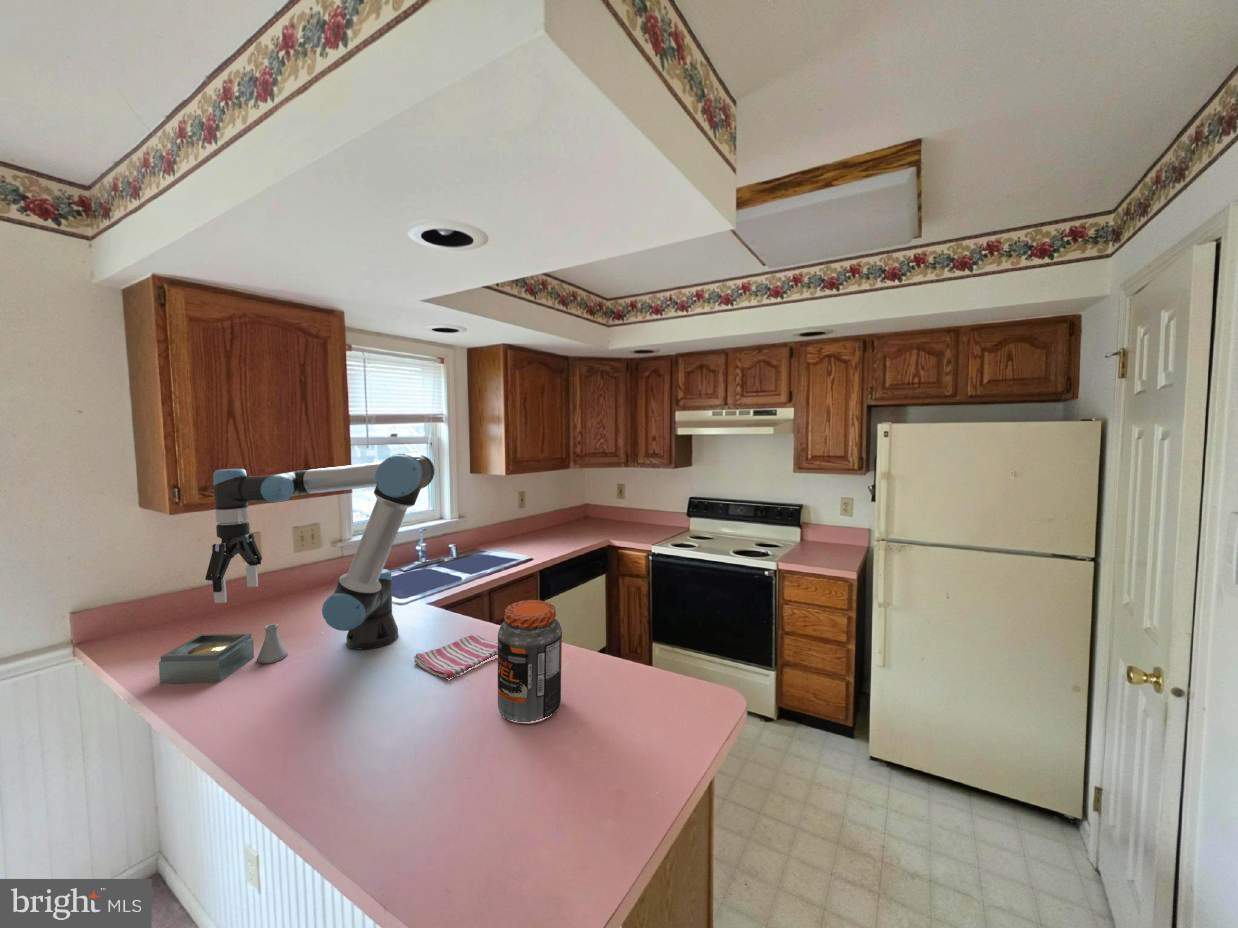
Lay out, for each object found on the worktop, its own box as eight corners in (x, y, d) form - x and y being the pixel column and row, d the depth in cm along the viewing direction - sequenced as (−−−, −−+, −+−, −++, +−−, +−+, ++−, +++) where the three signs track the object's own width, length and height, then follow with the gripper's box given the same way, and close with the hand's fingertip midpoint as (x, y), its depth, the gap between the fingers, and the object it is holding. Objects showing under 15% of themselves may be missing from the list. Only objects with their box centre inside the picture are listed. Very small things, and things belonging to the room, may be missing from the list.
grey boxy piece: (253, 657, 145) (253, 633, 145) (219, 682, 131) (218, 655, 131) (200, 658, 144) (198, 634, 143) (159, 683, 130) (158, 656, 130)
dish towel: (411, 665, 144) (411, 654, 144) (476, 638, 163) (476, 628, 163) (446, 684, 134) (446, 672, 134) (511, 653, 153) (511, 642, 153)
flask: (271, 665, 141) (270, 632, 140) (251, 662, 143) (249, 629, 142) (293, 654, 148) (292, 622, 147) (273, 651, 150) (272, 619, 149)
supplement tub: (486, 705, 124) (486, 605, 122) (540, 685, 134) (541, 592, 132) (516, 736, 111) (517, 626, 110) (573, 711, 122) (575, 610, 120)
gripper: (247, 514, 153) (251, 581, 155) (184, 531, 128) (190, 610, 130) (273, 514, 154) (276, 580, 155) (215, 531, 129) (220, 609, 131)
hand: (237, 594), depth 143 cm, fingers open, 13 cm apart
